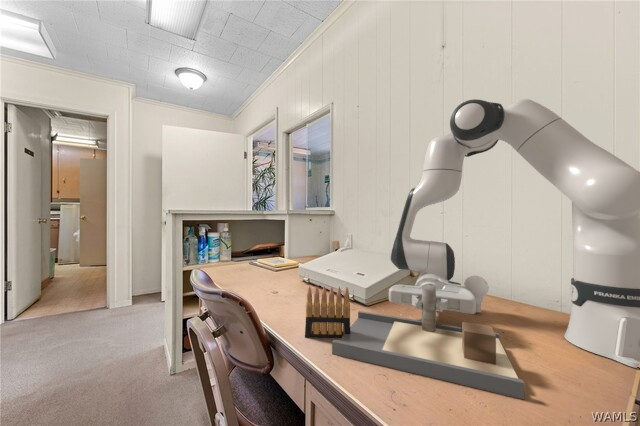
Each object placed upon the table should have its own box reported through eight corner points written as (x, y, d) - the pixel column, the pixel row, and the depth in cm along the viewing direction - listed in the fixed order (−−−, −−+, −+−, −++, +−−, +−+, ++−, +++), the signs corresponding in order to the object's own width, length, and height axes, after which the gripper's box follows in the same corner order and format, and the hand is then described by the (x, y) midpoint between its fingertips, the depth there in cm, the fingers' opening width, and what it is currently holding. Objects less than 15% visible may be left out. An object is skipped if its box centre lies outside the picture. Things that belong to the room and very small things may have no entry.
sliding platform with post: (498, 342, 58) (498, 292, 58) (518, 383, 43) (518, 316, 43) (394, 324, 67) (394, 281, 67) (381, 353, 52) (382, 298, 52)
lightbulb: (459, 310, 81) (459, 274, 82) (475, 308, 83) (475, 273, 83) (477, 317, 75) (476, 278, 75) (493, 315, 77) (493, 277, 77)
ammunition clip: (304, 339, 62) (305, 287, 62) (305, 335, 63) (305, 285, 64) (350, 340, 61) (351, 288, 62) (350, 336, 63) (350, 286, 64)
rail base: (498, 344, 59) (498, 333, 59) (524, 399, 41) (524, 383, 41) (359, 320, 72) (359, 310, 72) (332, 353, 54) (332, 341, 54)
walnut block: (491, 351, 52) (491, 326, 52) (496, 364, 47) (495, 336, 47) (462, 346, 54) (462, 321, 54) (464, 358, 49) (464, 331, 49)
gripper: (392, 277, 78) (383, 287, 66) (472, 284, 70) (479, 299, 57) (392, 298, 78) (383, 313, 66) (472, 309, 70) (479, 328, 57)
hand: (428, 307), depth 61 cm, fingers closed on sliding platform with post, 3 cm apart
